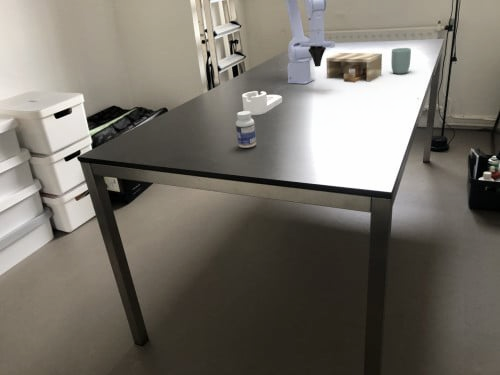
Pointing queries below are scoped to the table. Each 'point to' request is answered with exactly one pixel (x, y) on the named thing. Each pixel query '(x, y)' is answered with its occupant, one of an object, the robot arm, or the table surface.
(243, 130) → the pill bottle
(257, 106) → the bracket
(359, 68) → the caddy
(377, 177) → the table surface
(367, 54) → the wooden crate
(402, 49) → the cup
